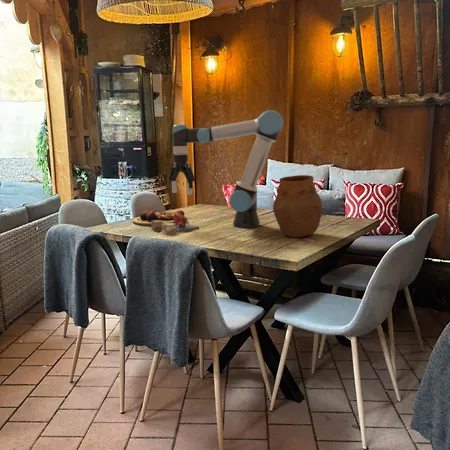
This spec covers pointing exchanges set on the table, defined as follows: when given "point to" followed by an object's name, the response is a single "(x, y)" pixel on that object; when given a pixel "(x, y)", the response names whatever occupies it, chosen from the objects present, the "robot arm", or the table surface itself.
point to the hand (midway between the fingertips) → (182, 193)
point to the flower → (179, 219)
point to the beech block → (168, 228)
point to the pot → (297, 206)
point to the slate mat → (186, 227)
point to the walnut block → (156, 225)
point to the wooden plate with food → (155, 217)
